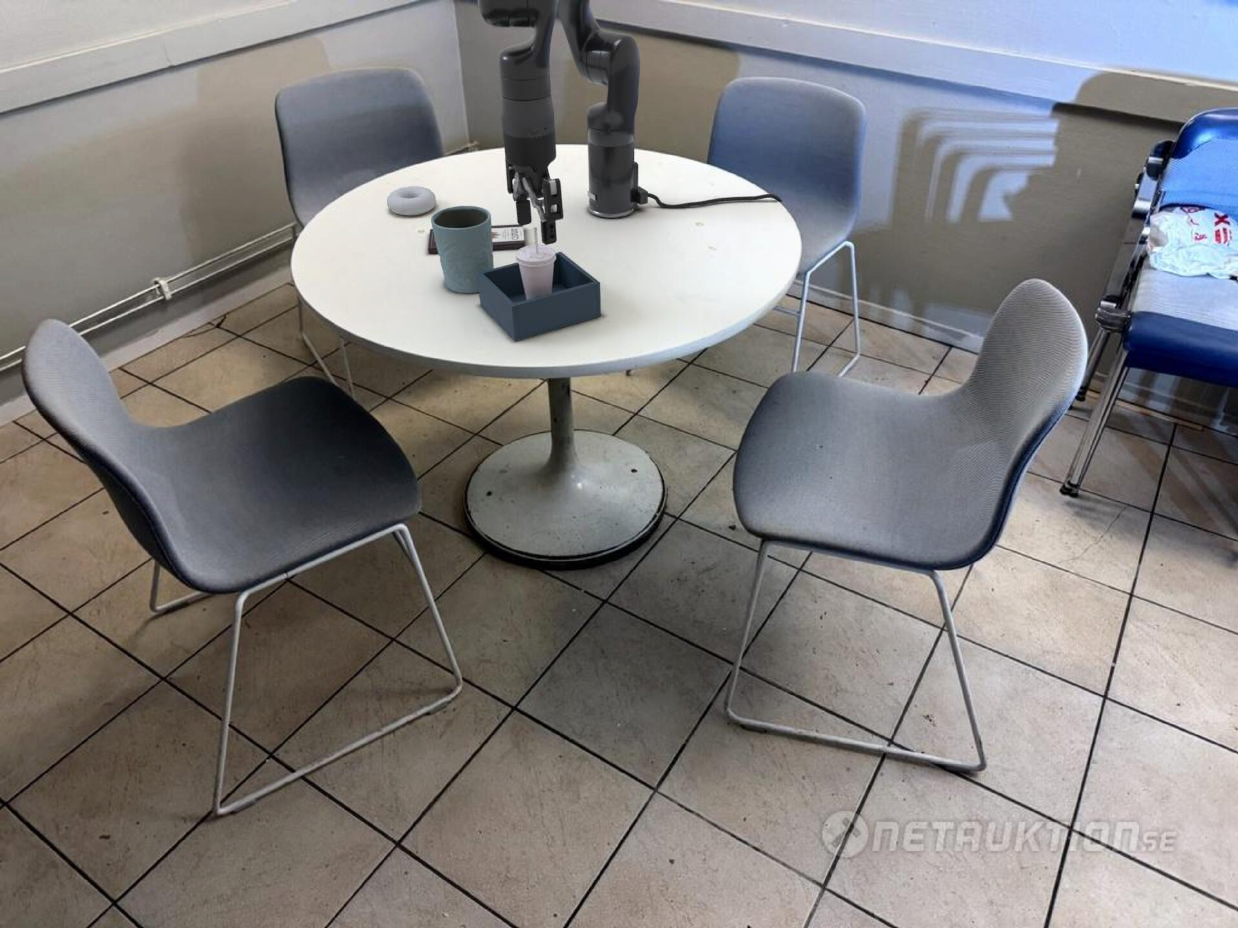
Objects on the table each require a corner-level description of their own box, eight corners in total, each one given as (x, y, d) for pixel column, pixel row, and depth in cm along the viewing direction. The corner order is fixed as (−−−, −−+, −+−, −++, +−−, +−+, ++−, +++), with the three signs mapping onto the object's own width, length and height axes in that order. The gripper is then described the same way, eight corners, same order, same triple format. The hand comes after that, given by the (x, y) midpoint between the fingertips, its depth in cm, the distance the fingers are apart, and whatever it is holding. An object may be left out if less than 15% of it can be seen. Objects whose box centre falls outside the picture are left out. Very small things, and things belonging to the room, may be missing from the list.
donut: (439, 199, 177) (391, 200, 177) (437, 183, 175) (388, 184, 174) (435, 218, 170) (385, 218, 169) (432, 201, 168) (382, 202, 167)
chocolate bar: (430, 229, 162) (522, 224, 164) (430, 233, 163) (523, 228, 165) (427, 248, 155) (524, 243, 157) (428, 253, 156) (525, 248, 158)
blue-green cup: (472, 300, 142) (464, 233, 134) (428, 286, 146) (417, 220, 138) (509, 277, 148) (503, 212, 141) (465, 264, 153) (457, 200, 145)
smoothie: (529, 320, 135) (522, 238, 126) (514, 303, 140) (506, 223, 131) (565, 311, 138) (561, 230, 129) (549, 295, 142) (544, 215, 133)
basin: (562, 283, 147) (561, 251, 143) (601, 316, 137) (600, 282, 134) (480, 305, 140) (476, 272, 137) (515, 341, 131) (511, 306, 127)
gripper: (575, 135, 117) (579, 244, 127) (529, 109, 126) (537, 213, 137) (527, 145, 114) (535, 256, 124) (484, 118, 123) (495, 223, 134)
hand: (536, 233), depth 130 cm, fingers open, 8 cm apart
